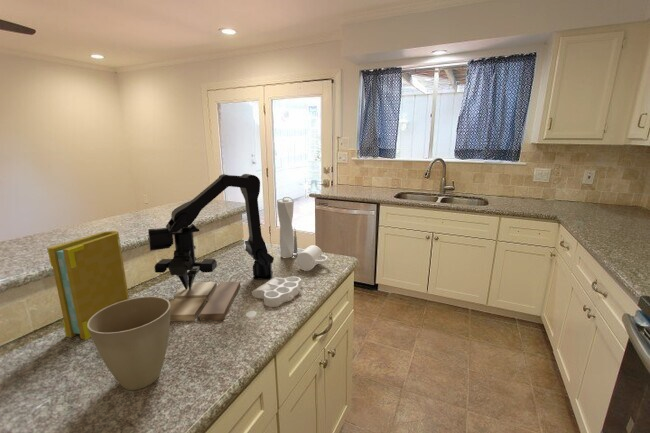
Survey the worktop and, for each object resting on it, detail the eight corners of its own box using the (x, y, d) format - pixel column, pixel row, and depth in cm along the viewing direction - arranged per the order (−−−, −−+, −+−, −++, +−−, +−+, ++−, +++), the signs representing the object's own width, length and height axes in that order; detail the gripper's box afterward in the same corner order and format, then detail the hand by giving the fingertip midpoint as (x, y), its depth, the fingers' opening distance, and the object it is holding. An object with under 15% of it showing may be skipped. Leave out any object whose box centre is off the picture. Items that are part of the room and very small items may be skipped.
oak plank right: (216, 287, 114) (216, 281, 113) (208, 300, 104) (207, 294, 103) (185, 288, 113) (185, 282, 113) (174, 301, 103) (173, 296, 103)
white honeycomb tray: (276, 280, 120) (310, 288, 114) (246, 301, 104) (283, 311, 98) (276, 272, 119) (310, 279, 113) (245, 292, 103) (283, 301, 97)
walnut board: (240, 286, 114) (240, 281, 113) (224, 319, 92) (223, 313, 92) (219, 287, 114) (218, 281, 113) (197, 320, 92) (197, 314, 92)
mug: (296, 269, 129) (295, 251, 127) (306, 261, 138) (305, 244, 136) (323, 273, 125) (323, 254, 123) (331, 265, 134) (331, 247, 132)
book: (86, 339, 83) (69, 249, 78) (65, 336, 85) (47, 248, 79) (136, 307, 99) (124, 231, 94) (118, 305, 101) (105, 230, 95)
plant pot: (188, 354, 77) (181, 295, 73) (159, 403, 63) (149, 332, 59) (126, 356, 77) (116, 296, 73) (82, 406, 62) (67, 334, 58)
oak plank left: (206, 303, 102) (205, 297, 101) (195, 320, 92) (194, 314, 92) (171, 304, 101) (170, 298, 101) (156, 321, 92) (155, 315, 91)
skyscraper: (295, 259, 140) (294, 197, 134) (277, 259, 141) (275, 197, 134) (297, 253, 149) (296, 194, 142) (280, 252, 149) (278, 194, 143)
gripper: (143, 253, 96) (148, 300, 100) (205, 253, 97) (208, 300, 100) (160, 242, 107) (164, 285, 110) (215, 242, 108) (218, 285, 111)
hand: (188, 288), depth 108 cm, fingers closed
